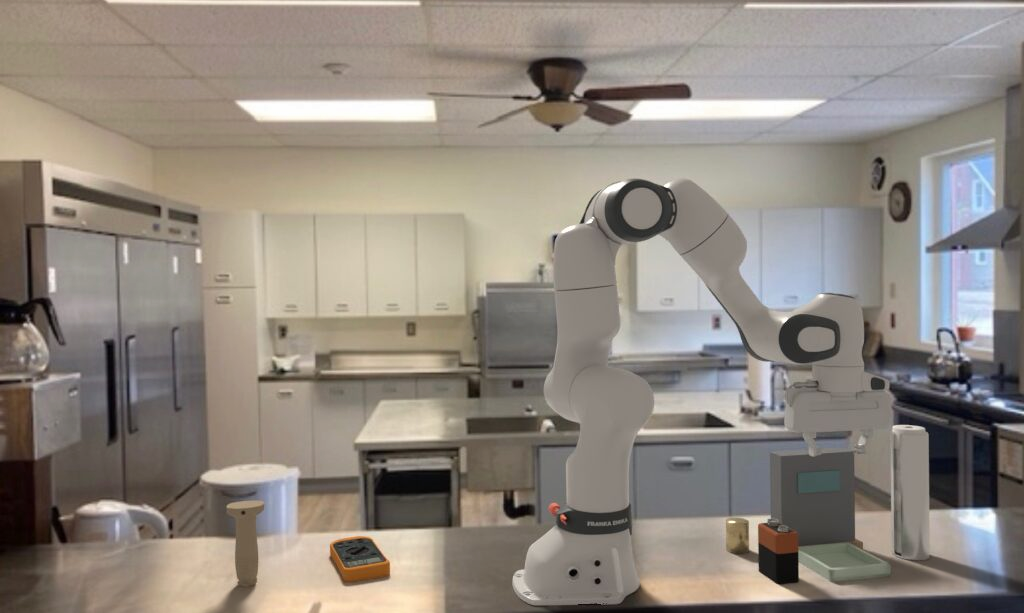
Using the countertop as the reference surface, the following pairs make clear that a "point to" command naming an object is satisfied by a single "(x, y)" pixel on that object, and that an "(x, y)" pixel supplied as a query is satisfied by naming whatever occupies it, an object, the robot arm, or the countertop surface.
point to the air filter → (910, 492)
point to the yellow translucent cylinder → (737, 535)
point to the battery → (778, 552)
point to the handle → (246, 540)
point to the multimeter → (359, 559)
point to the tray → (842, 562)
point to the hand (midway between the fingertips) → (837, 454)
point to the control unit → (815, 495)
